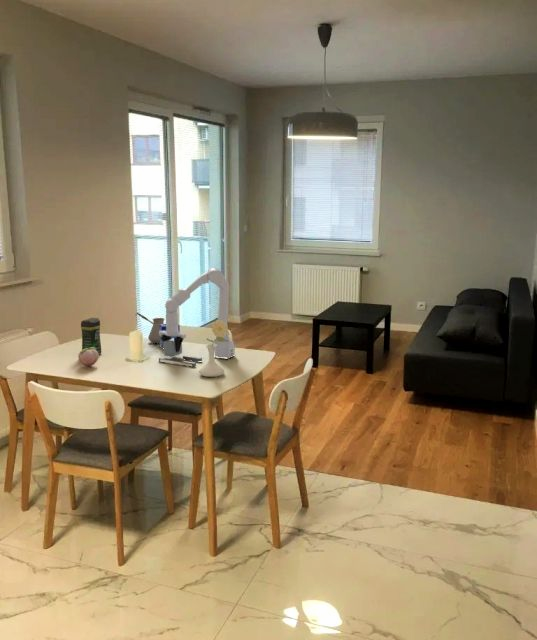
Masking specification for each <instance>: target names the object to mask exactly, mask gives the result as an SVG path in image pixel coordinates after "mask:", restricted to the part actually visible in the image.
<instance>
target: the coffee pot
mask: <svg viewBox="0 0 537 640" xmlns="http://www.w3.org/2000/svg"><path fill="white" fill-rule="evenodd" d="M134 316H135V317H136V316H138V317H141V318H142V319H144V320H145V321H147V322H149V323H150V324H152V327H151V329H150V331H149V335H148V340H149V342H150V343H152V342H153V343H160V335H159V331H160V326H159V325H160V324H165V323H164V322H165V321H166V318H164V317H155V318H152V320H150V319H149V318H148V317H146V316H144V315H142V313H140V312H136V313H135V314H134ZM153 343H152V344H153Z"/></svg>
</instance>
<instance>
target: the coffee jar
mask: <svg viewBox="0 0 537 640" xmlns="http://www.w3.org/2000/svg"><path fill="white" fill-rule="evenodd" d="M80 329H81V350H83V349H86V348H90V347H95V348H97V349H95V350H96V351H97V352H98V354H99V355H101V354H102V346H101V334H100V333H101V320H100V319H99V318H98V317H90V318H87V319H83V320H82V321H81V322H80Z"/></svg>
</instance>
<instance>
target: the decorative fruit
mask: <svg viewBox="0 0 537 640" xmlns="http://www.w3.org/2000/svg"><path fill="white" fill-rule="evenodd" d="M95 349H97V348H95V347H90V348H86V349H83V350H82V349H81V350H80V351H79V352H78V354H77V355H78V356H77V357H78V361H79V362H80V364H81V365H83V366H85V367H87V368H91V367H92V366H93V365H95V364H96V363H97V362H98V360H99V357H100V354H98V352H97V351H96V350H95Z"/></svg>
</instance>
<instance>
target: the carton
mask: <svg viewBox="0 0 537 640" xmlns="http://www.w3.org/2000/svg"><path fill="white" fill-rule="evenodd" d="M182 343H183V342H182ZM182 343H181V346H180V351H179V352H176V346H175V341H174V338H172V339H169V340H167V341H164V349H163V357H164V356H165V357H170V358H171V357H172V358H174V357H176V356H178V355H180V354H182V353H183V344H182Z"/></svg>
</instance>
